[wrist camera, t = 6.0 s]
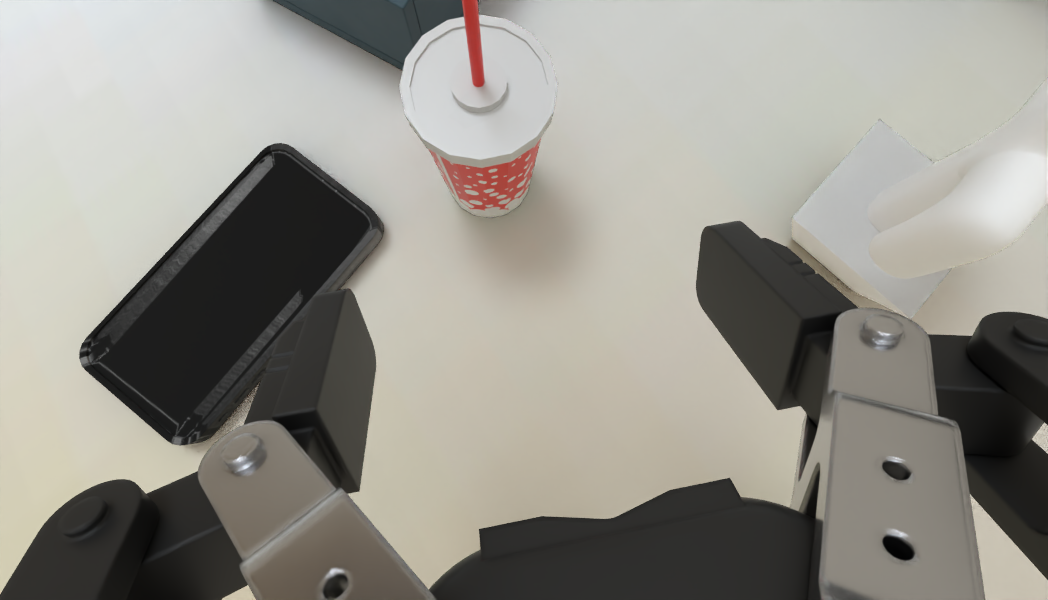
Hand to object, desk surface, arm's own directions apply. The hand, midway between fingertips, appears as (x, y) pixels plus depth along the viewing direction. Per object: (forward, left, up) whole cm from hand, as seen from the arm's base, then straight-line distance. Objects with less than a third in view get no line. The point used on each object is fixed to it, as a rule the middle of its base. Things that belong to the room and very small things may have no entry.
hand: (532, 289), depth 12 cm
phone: (+5, -14, -15) cm, 21 cm away
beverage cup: (-7, -6, -16) cm, 18 cm away
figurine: (-14, +13, -16) cm, 25 cm away
